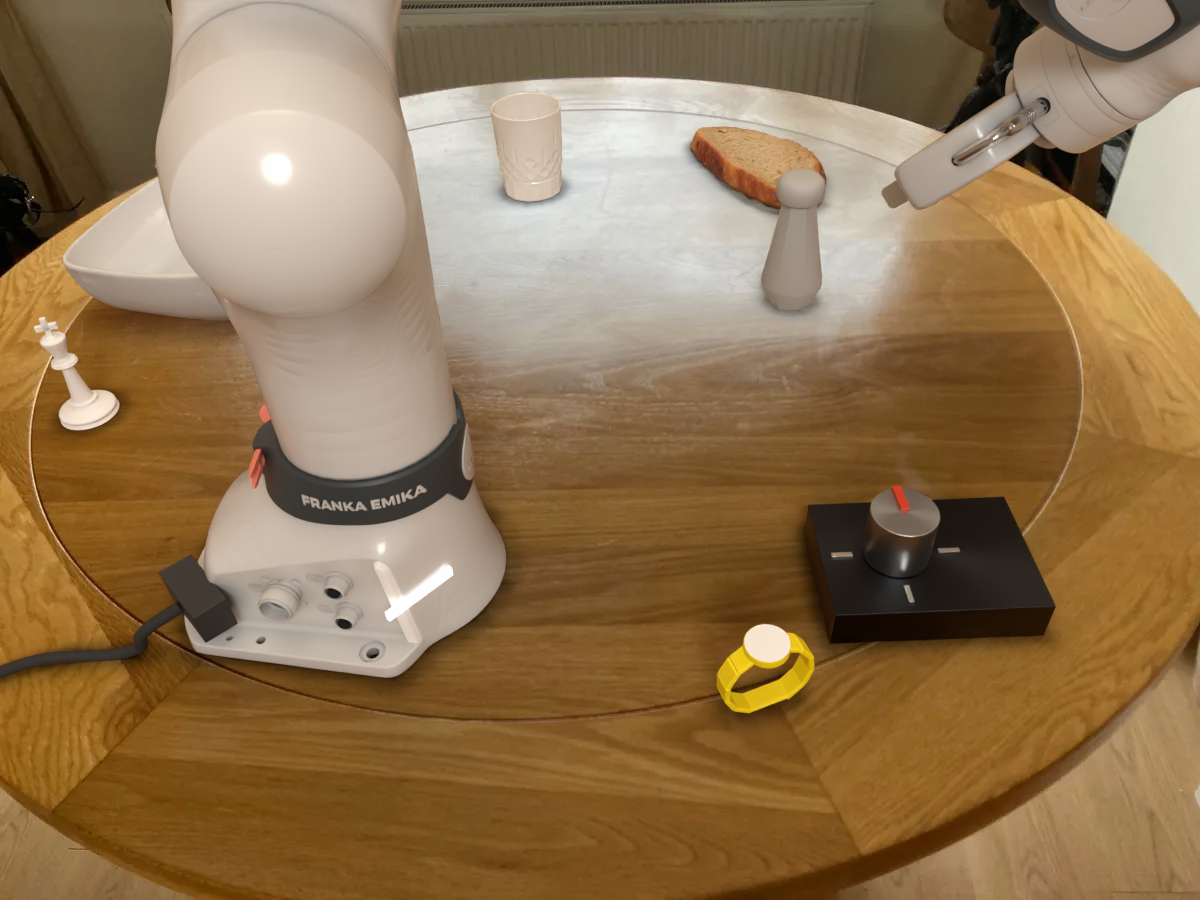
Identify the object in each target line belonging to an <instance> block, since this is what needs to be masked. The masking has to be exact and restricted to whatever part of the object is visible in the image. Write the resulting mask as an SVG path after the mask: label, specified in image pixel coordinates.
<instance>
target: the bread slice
mask: <svg viewBox="0 0 1200 900" xmlns="http://www.w3.org/2000/svg"><path fill="white" fill-rule="evenodd" d="M691 140H692V141H691V142H690V144H689V147H690V148H689V149H690V150H691V151H692V152H693V154H694V155H695V157H696V159H697V161H699V162H701V163H702V166H704V167H706V168H707V169H708V170H709V171H710V172H711V173H713V174H714V176H715V177H717V179H719V180H721V181H722V182H723V183H724V184H725V185H726V186H728V187H730V188H731V189H732V190H734V191H735V192H736V193H741V194H743V195H744V196H745V197H746V198H747V199H748V200H752V201H753V200H754V201H757V202H758V203H760V204H762V205H764V206H765V207H766V208H770V209H775V210H776V211H777V210H778V211H780V209H781V205H782V203H781V202H780V201H779V200H778V199H777V196H776V190H777V184H778V180H779V177H780V176H782V175H783V174H784V173H785V172H787V171H789V170H792V169H801V168H804V169H810V170H813V171H816V172H818V173H819V174H820V175H821V176H822V177H823V178H824V179H825V187H826V186H827V175H826V172H825V169H824V166H823V164H822V162H821V161H820V159H819V158H818V157H817V156H816V155H815V154H814V152H813V151H812V150H810V149H808V147H805V146H802V145H801V144H800V143H798V142H795V141H794V140H791V139H787V138H780V137H778V136H776V135H773V134H770V133H767V132H763V131H759V130H756V129H749V128H742V127H737V126H726V125H725V126H704V127H700V128H698V129H697V130H696V131H695V133H694V135H693V138H692V139H691ZM820 204H821V203H819V204H818V205H817V207H818V206H819V205H820Z"/></svg>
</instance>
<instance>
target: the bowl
mask: <svg viewBox="0 0 1200 900" xmlns="http://www.w3.org/2000/svg"><path fill="white" fill-rule="evenodd" d="M61 262H62V264H63V266H64V267H65V269H66V270H67V272H68V273H69V275H70V276H71V278H72V279H73V281H74V282H75V283H77V285H78V286H79V287H80V288H81V289H82V290H83V291H85V292H86V293H87V294H88V295H89V296H91V297H92V298H93V299H96V300H97V301H99V302H100V303H103V304H105V305H108V306H109V307H112V308H115V309H119V310H126V311H130V312H131V311H132V312H138V313H144V314H150V315H157V316H164V317H171V318H172V317H173V318H179V319H190V320H202V321H215V322H216V321H217V322H219V321H220V322H231V321H230V319H229V318H228V316H227V315H226V313H225V311H224V310H223V308H222V306H221V305H220V303H219V302H218V300H217V298H216V297H215V295H214V293H213V292H212V290H211V288H210V287H209V285H207V284H206V283H205V282H204V281H203V280H202V279H201V278H200V277H199V276H198V275H197V273H196V272H195V271H194V270H193V269H192V268H191V266H190V265H189V264H188V262H187V261H186V259H185V257H184V256H183V254H182V252H181V250H180V248H179V246H178V244H177V242H176V239H175V237H174V234H173V231H172V228H171V225H170V222H169V219H168V216H167V212H166V209H165V206H164V202H163V197H162V193H161V189H160V184H159V179H158V178H156V179H153V180H152V181H150V182H148V183H147V184H145V185H144V186H142V187H140V188H139V189H138V190H136V191H135V192H134V193H132V194H131V195H129V196H128V197H127V198H125V199H124V200H122V201H121V202H119V203H118V204H117V205H116V206H115V207H113V208H112V209H110V210H109V211H108V212H106V213H105V214H103V216H101V218H99V219H98V220H97V221H95V223H94V224H92V225H91V226H90V227H89V228H87V229H86V230H85V231H84V232H83V233H81V235H79V237H77V239H75V240H74V241H73V242H72V243H71V244H70V245H69V247H68V248H66V251H64V254H63V256H62V261H61Z"/></svg>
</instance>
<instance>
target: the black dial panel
mask: <svg viewBox="0 0 1200 900" xmlns="http://www.w3.org/2000/svg"><path fill="white" fill-rule="evenodd" d="M931 500H932V501H933V502H934V503H935V505H936V506H937V508H938V510H939V512H940V523H939V526H938V530H937V534H936V537H935V541H934V544H933V548H932V552H931V555H930V559H929V562H928V565H927V566H926V568H925V569H924V570H923V571H922V572H920V573H919V574H917V575H914V576H911V577H905V578H899V577H891V576H888V575H885V574H882V573H880V572H878V571H877V570H875V569H874V568H872V567H871V566H870V565H869V564H868V563H867V561H866V560H865V558H864V556H863V553H862V544H863V539H864V534H865V529H866V524H867V519H868V514H869V510H870V505H871V502H872V501H864V502H861V501H860V502H840V503H837V502H836V503H815V504H814V503H812V504H808V505H807V509H806V516H805V523H804V531H803V535H804V538H805V540H804V541H805V545H806V548H807V552H808V556H809V560H810V564H811V569H812V574H813V577H814V582H815V586H816V590H817V594H818V598H819V602H820V606H821V607H820V608H821V611H822V615H823V619H824V623H825V628H826V632H827V636H828V640H829V644H832V645H833V644H852V643H853V644H854V643H855V644H856V643H857V644H858V643H880V642H881V643H882V642H908V641H932V640H935V641H936V640H958V639H959V640H960V639H984V638H986V639H987V638H1011V637H1034V636H1036V637H1037V636H1044V635H1045V633H1046V631H1047V628H1048V626H1049V624H1050V622H1051V620H1052V617H1053V614H1054V612H1055V610H1056V608H1057V606H1056V603H1055V601H1054V599H1053V597H1052V595H1051V593H1050V591H1049V588H1048V586H1047V584H1046V582H1045V580H1044V577H1043V576H1042V573H1041V572H1040V569H1039V567H1038V564H1037V563H1036V561H1035V559H1034V557H1033V555H1032V552H1031V550H1030V548H1029V546H1028V544H1027V541H1026V540H1025V538H1024V535H1023V533H1022V531H1021V528H1020V527H1019V525H1018V523H1017V520H1016V518H1015V516H1014V514H1013V512H1012V509H1011V508H1010V506H1009V504H1008V501H1007V499H1006V497H1005V496H983V497H980V496H979V497H961V498H960V497H958V498H935V499H933V498H931Z"/></svg>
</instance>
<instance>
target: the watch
mask: <svg viewBox="0 0 1200 900" xmlns="http://www.w3.org/2000/svg"><path fill="white" fill-rule="evenodd" d="M791 653H793V654H795V653H796V654H797V653H799V655H798V657H797V659H796V661H795V663H794V664H793V666H792V667H791V668H790V669H789V670H788V671H787V672H785V674H784V675H782V676H781V677H780V678H778V679H776V680H774V681H771V682H769V683H766V684H764V685H761V686H758V687H756V688H753V689H750V690H748V691H745V692H734V691H732V688H733V687H734V685H735V684H736V682H737V681H738V680H739V678H740V677H741V675H743V674H744V673H746V672H747V671H748V670H750V669H751V668H752V667H754V666H756V667H759V668H761V669H775V668H778V667H780V666H782V665H784V664H785V663H786V662H787V661H788V660H789V658H790V656H791ZM815 667H816V665H815V656H814V654H813V653H812V651H811V649H810V648H809V647H808V645H807V643H806V642H805V640H804V639H803V638H802V637H800V636H799V635H797V634H796V633H795V632H787V631H785V630H784V629H782V628H781V627H779V626H777V625H774V624H771V623H770V624H769V623H761V624H757V625H755V626H753V627H751V628H749V629H748V630H747V631H746V632H745V634H744V637H743V640H742V645H741V646H740V647H739V648H737V649H735V651H733V652H732V653H731V654H729V655H728V656H727V658H726V659H725V660H724V662H723V663H722V664H721V666H720V668H719V669H718V671H717V673H716V683H715V686H716V689H717V691H718V692H719V694H720V696H721V698H722V700H723V702H724V704H725V705H726V706H727V707H728V708H729V709H730V710H731V711H732V712H736V713H743V714H751V713H753V712H756V711H759V710H761V709H764V708H766V707H770V706H772V705H774V704H777V703H779V702H782V701H786V700H790V699H791V698H792V697H793V696H795V695H796V694H797V693H798V692H799V691H801V689H803V688H804V687H805V686H806V685H807V683H808V682H809V680H810V678H811V677H812V675H813V673H814V671H815Z"/></svg>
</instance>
